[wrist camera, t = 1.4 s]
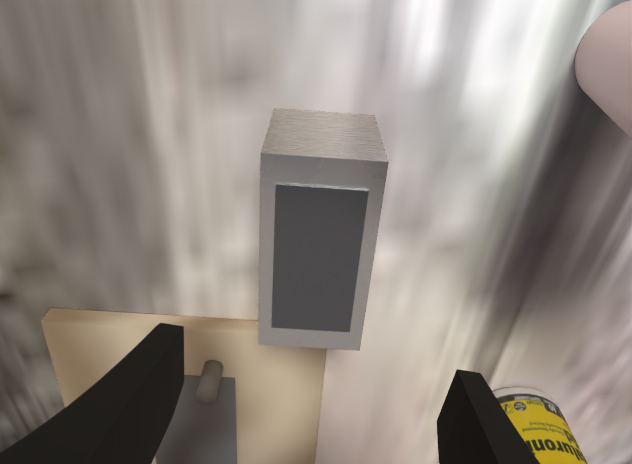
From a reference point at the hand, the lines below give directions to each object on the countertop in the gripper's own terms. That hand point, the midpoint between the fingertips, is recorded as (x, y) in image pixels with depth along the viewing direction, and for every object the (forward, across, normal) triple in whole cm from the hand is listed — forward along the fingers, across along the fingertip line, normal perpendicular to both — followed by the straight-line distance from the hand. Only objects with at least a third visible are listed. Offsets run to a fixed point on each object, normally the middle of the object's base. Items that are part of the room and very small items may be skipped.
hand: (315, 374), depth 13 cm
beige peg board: (+10, +6, +15) cm, 19 cm away
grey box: (+10, +1, 0) cm, 10 cm away
